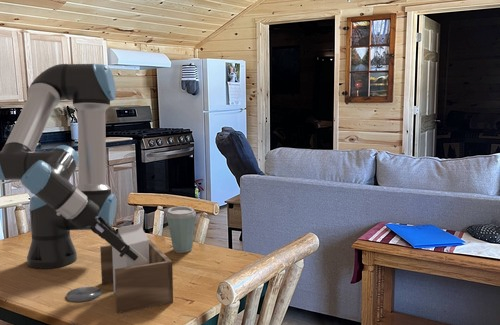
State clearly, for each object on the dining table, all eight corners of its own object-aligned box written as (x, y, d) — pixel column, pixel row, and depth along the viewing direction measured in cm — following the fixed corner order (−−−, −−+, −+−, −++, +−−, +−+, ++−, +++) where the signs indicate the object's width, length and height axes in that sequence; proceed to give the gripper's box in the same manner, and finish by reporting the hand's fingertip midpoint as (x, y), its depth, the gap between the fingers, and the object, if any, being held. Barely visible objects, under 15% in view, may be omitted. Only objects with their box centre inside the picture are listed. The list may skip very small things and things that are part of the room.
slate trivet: (64, 292, 131) (64, 290, 131) (98, 286, 135) (98, 284, 135) (68, 304, 123) (68, 302, 123) (104, 298, 127) (104, 295, 127)
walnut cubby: (101, 282, 138) (100, 246, 136) (150, 274, 144) (149, 239, 143) (117, 313, 118) (115, 270, 116) (173, 302, 124) (172, 261, 123)
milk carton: (150, 292, 131) (148, 225, 128) (128, 300, 126) (125, 230, 123) (135, 285, 136) (133, 221, 133) (113, 293, 130) (111, 225, 128)
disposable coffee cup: (202, 251, 167) (201, 209, 165) (173, 256, 161) (172, 213, 159) (189, 244, 176) (188, 204, 174) (161, 248, 170) (160, 207, 168)
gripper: (63, 210, 132) (119, 255, 140) (73, 232, 110) (140, 283, 118) (82, 190, 134) (137, 235, 142) (96, 207, 111) (160, 260, 120)
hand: (138, 257), depth 130 cm, fingers open, 13 cm apart
